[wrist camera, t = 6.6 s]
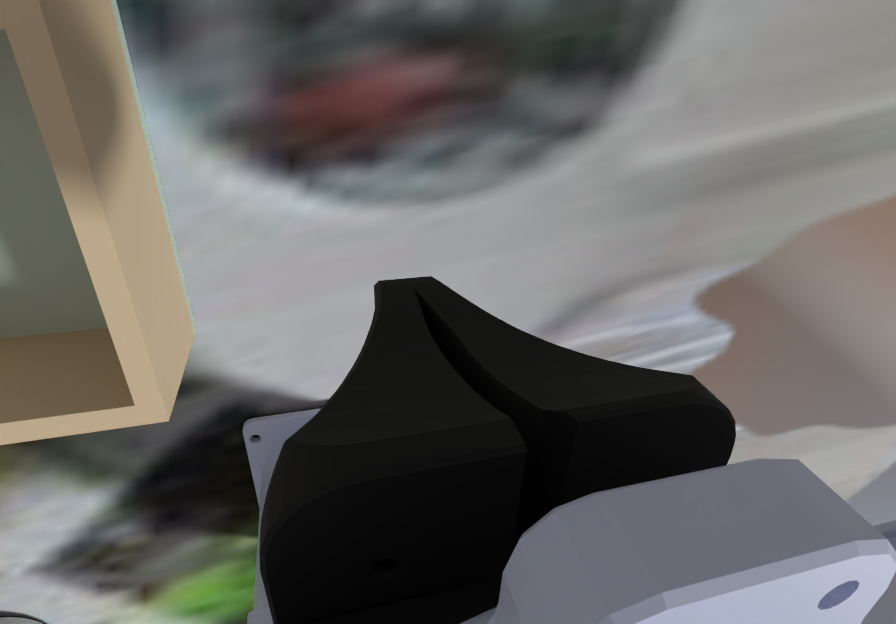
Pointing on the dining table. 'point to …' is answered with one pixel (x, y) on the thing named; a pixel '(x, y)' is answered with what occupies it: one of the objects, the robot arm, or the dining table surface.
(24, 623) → the supplement bottle
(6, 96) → the box
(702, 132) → the dining table surface
